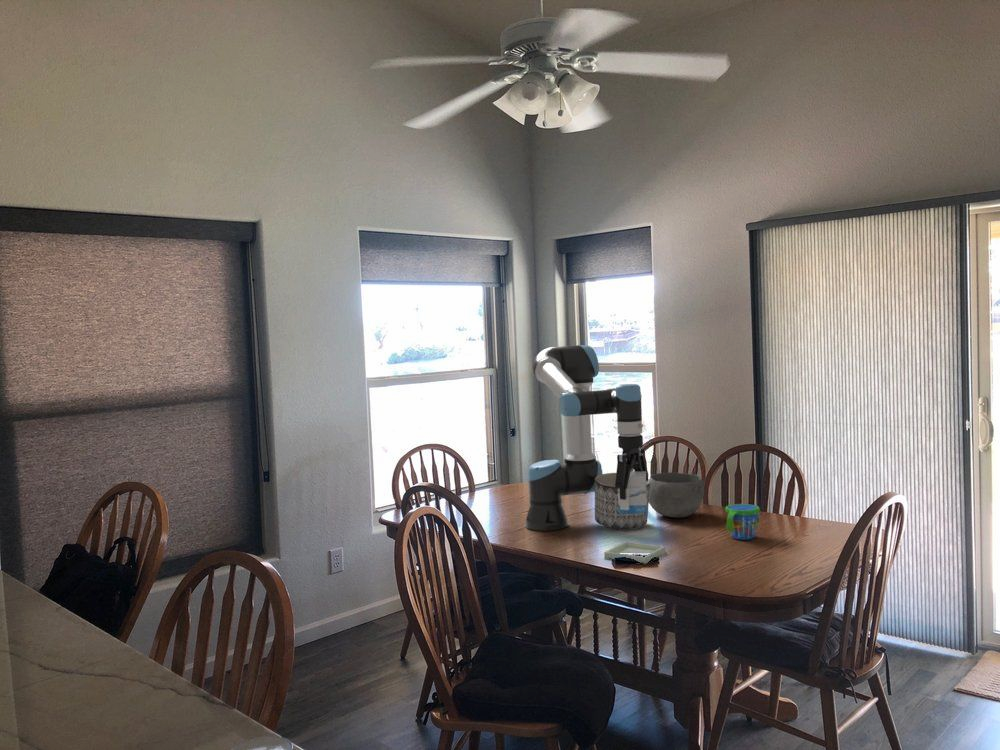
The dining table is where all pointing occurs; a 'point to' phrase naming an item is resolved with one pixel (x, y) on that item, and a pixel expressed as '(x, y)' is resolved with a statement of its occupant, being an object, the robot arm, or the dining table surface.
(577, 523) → the dining table surface
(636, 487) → the ink box
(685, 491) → the bowl
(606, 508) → the planter
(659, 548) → the tray
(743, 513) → the snack cup
